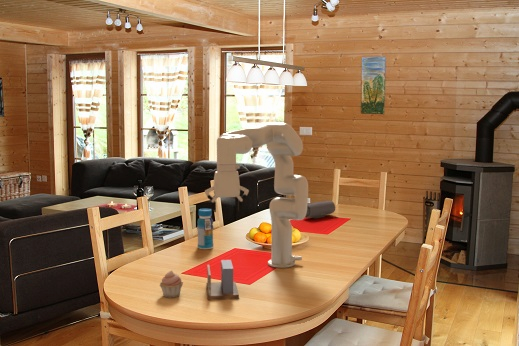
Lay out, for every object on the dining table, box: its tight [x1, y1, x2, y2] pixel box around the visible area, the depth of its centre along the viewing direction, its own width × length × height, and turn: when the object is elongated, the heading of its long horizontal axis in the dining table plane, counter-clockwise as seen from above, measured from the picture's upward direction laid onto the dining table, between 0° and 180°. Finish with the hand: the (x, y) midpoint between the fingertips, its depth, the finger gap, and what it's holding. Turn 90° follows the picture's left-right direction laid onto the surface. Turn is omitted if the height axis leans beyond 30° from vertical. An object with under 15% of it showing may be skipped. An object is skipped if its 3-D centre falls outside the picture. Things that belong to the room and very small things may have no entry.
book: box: [220, 259, 234, 294], centre depth 232 cm, size 4×12×10 cm, turn 7°
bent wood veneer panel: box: [205, 264, 240, 301], centre depth 232 cm, size 12×16×10 cm
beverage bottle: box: [196, 208, 214, 250], centre depth 298 cm, size 8×8×20 cm
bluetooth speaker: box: [305, 200, 336, 220], centre depth 374 cm, size 23×9×10 cm, turn 130°
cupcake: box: [159, 270, 184, 299], centre depth 228 cm, size 9×9×10 cm
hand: (227, 211), depth 228 cm, fingers open, 9 cm apart
